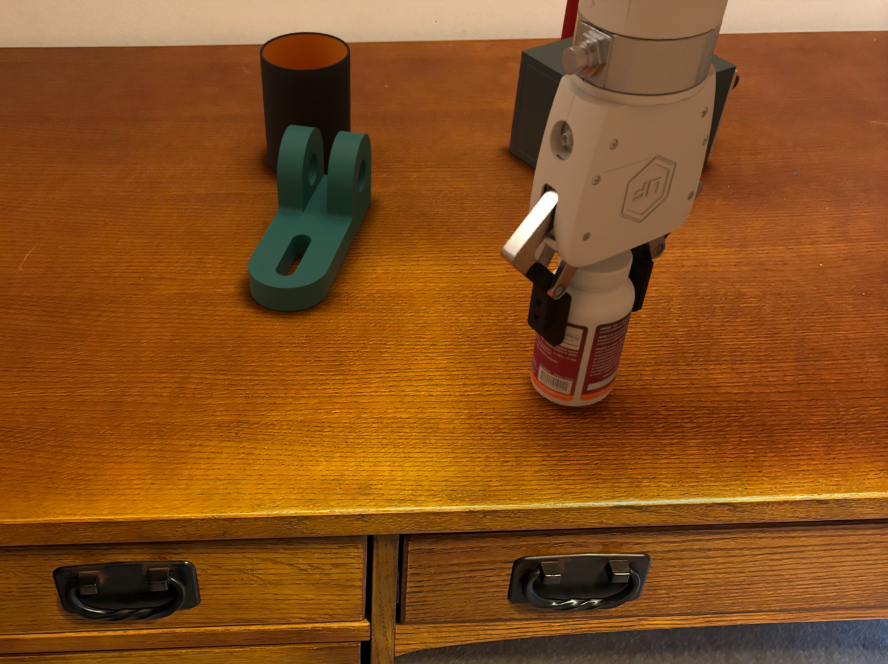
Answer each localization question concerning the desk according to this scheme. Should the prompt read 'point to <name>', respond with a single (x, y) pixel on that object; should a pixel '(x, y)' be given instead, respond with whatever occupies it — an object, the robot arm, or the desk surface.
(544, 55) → the dark grey box
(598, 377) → the pill bottle
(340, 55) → the mug
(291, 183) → the bracket
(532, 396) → the desk surface
